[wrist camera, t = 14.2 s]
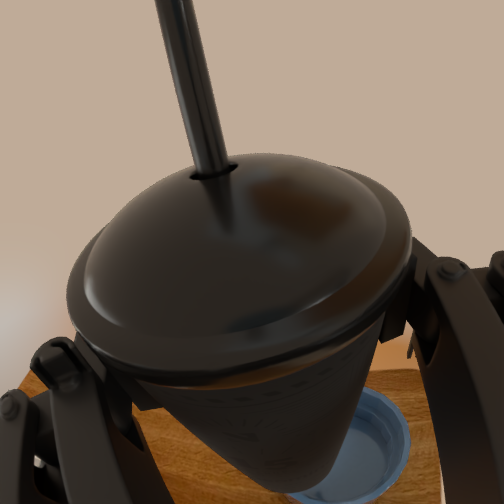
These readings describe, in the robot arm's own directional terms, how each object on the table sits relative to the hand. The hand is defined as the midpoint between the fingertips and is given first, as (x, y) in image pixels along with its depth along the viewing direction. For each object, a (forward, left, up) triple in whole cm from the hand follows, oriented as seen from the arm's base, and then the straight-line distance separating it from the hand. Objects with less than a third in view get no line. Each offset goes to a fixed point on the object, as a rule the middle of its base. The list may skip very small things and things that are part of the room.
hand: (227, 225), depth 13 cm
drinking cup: (-2, +5, -11) cm, 12 cm away
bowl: (-5, +1, -25) cm, 26 cm away
